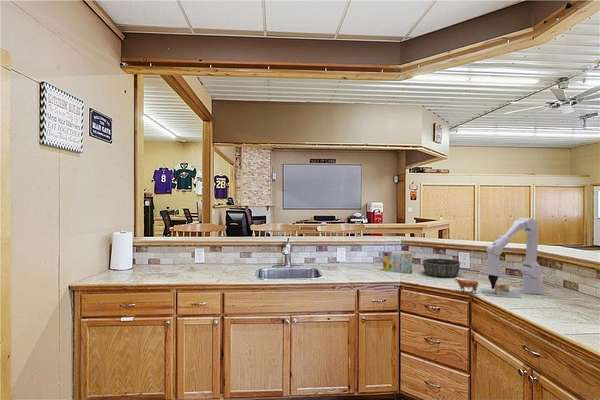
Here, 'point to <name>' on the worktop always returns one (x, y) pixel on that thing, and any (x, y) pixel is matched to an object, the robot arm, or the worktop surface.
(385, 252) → the snack box
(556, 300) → the worktop surface
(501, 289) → the fence fixed
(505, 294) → the card
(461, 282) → the bull figurine
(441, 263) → the dark grey woven basket
